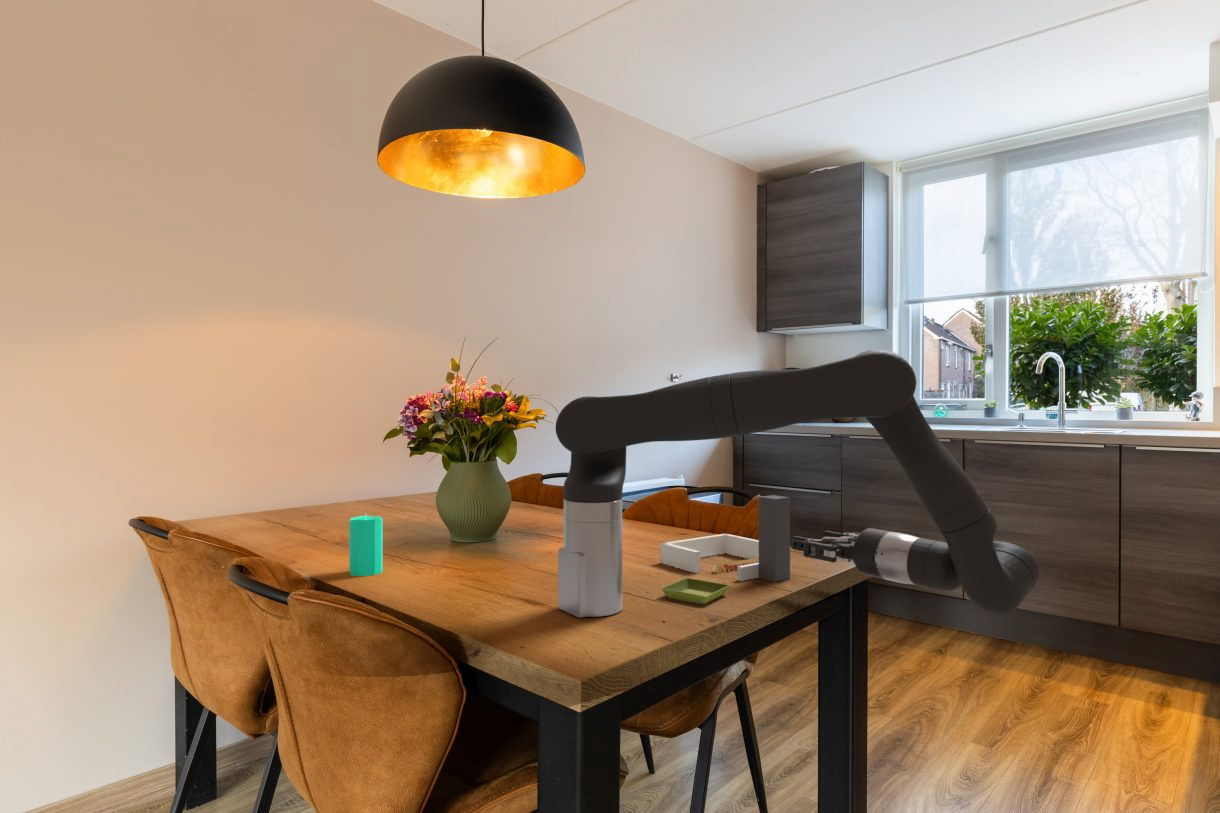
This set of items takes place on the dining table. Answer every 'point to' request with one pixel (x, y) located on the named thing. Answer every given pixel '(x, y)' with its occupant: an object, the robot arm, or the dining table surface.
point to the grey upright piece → (771, 541)
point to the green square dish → (695, 590)
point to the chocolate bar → (732, 565)
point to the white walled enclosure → (706, 550)
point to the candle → (365, 545)
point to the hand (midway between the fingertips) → (808, 539)
